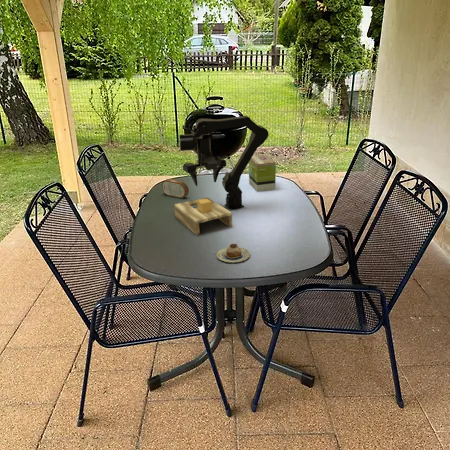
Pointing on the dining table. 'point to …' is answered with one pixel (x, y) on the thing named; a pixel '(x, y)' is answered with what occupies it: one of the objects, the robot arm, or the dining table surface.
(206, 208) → the mustard yellow block
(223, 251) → the pastry
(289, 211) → the dining table surface
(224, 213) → the keyhole board
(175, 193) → the tin
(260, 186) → the tea box
